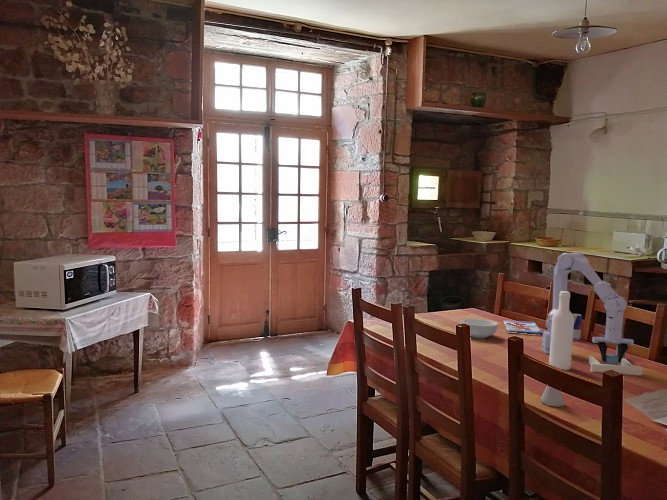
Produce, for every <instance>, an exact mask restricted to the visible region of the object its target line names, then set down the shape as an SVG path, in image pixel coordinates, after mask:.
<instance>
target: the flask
mask: <svg viewBox="0 0 667 500" xmlns="http://www.w3.org/2000/svg"><path fill="white" fill-rule="evenodd" d="M545 387H546V388H545V389H544V391H543V392H542V395H541V397H540V402H541V403H542V404H544V405H545V406H549V407H555V408H557V407H558V408H559V407H564V406H566V404H565V401H564V398H563V395H562V392H561V391H562V390H561V391H558V390H556V389H554V388H551V387H549V386H547V385H546V386H545Z"/></svg>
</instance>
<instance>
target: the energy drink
mask: <svg viewBox="0 0 667 500" xmlns="http://www.w3.org/2000/svg"><path fill="white" fill-rule="evenodd" d="M572 314H573V317H574V328H573V340H579V341H580V340H581V337H582V336H581V333H582V321H583V320H582V319H583V316H582V314H579V313H572Z"/></svg>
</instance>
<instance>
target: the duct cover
mask: <svg viewBox="0 0 667 500" xmlns="http://www.w3.org/2000/svg"><path fill="white" fill-rule="evenodd" d="M615 351H616V352H615V355H617V354H618V347H617V346H616V349H615ZM622 358H625V359H626V353H625V354H624V355H623V357H622Z"/></svg>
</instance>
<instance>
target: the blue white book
mask: <svg viewBox="0 0 667 500" xmlns="http://www.w3.org/2000/svg"><path fill="white" fill-rule="evenodd" d="M503 322H504V324H505V326H506V329H507V331H508V332H517V333H527V334H537V335H538V334H540V335H542V336H543V332H544V331H542V330H541V328H539V326H538V325H537V324H536V322H535V321H524V320H523V321H522V320H519V321H518V320H512V319H506V320H505V319H504V320H503V321H502V323H503ZM507 323H511V324H513V325H516V324H514V323H519V324H526V325H523V326H525V327H524V328H529V329H531V330H525V329H520V330H515V328H512V327H516V326H512V325H509V324H507ZM517 326H520V325H517ZM516 329H517V328H516ZM507 331H506V332H507Z"/></svg>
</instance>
